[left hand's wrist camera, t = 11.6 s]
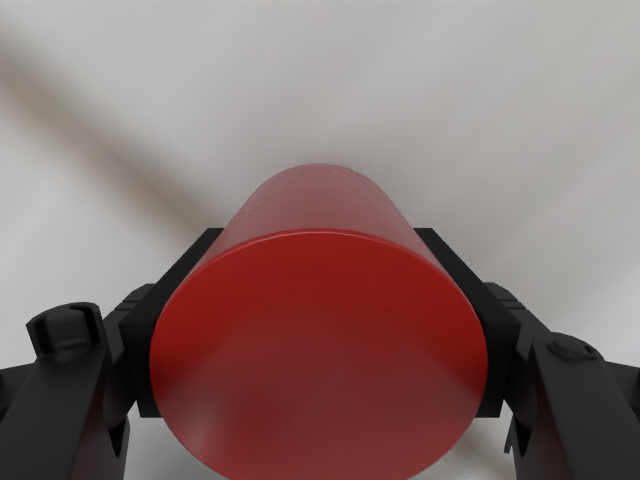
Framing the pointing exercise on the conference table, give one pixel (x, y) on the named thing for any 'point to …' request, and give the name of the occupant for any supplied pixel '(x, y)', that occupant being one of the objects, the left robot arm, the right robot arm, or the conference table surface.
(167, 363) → the canister
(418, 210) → the conference table surface
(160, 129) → the conference table surface
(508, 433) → the left robot arm
